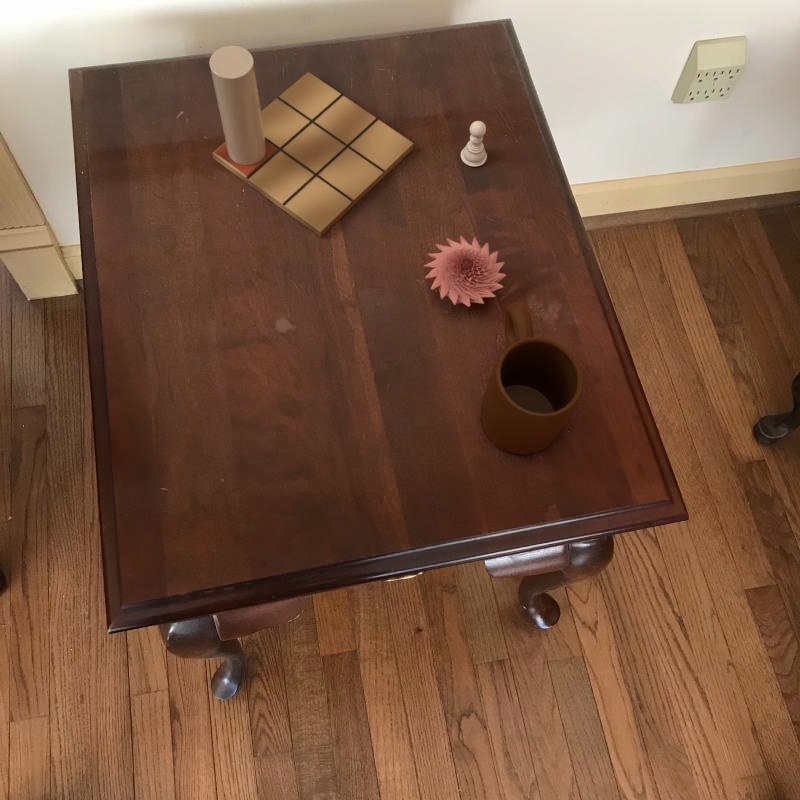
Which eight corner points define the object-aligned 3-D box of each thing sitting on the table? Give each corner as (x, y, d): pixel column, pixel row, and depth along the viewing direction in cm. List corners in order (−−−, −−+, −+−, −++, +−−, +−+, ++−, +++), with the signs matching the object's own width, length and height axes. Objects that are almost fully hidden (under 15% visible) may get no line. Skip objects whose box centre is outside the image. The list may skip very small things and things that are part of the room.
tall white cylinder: (219, 151, 87) (200, 62, 76) (246, 128, 88) (230, 38, 77) (247, 171, 86) (232, 85, 75) (274, 148, 87) (262, 60, 76)
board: (213, 159, 88) (211, 151, 87) (308, 78, 93) (308, 70, 92) (320, 237, 85) (320, 231, 84) (413, 149, 90) (414, 142, 89)
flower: (498, 328, 81) (508, 299, 76) (417, 320, 81) (421, 290, 76) (502, 260, 85) (511, 228, 79) (424, 251, 84) (428, 219, 79)
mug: (462, 346, 80) (475, 296, 72) (538, 336, 81) (560, 285, 73) (488, 462, 76) (505, 424, 67) (568, 451, 77) (595, 411, 68)
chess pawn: (469, 171, 89) (476, 139, 84) (455, 153, 90) (460, 120, 85) (491, 161, 89) (499, 128, 85) (477, 142, 90) (483, 109, 86)
